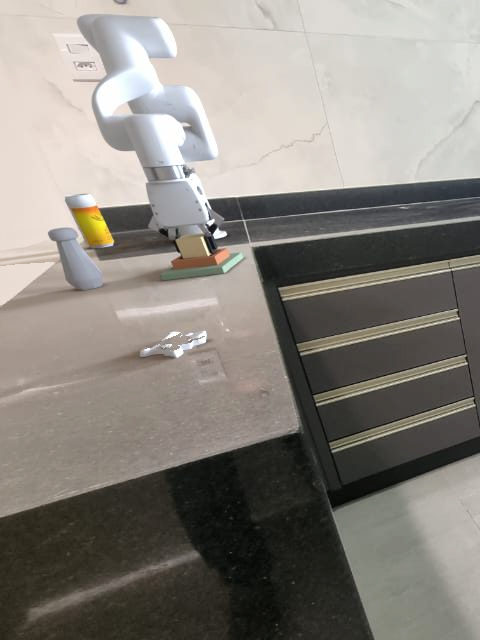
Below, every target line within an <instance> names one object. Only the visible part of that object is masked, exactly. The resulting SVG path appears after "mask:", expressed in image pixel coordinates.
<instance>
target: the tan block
mask: <svg viewBox="0 0 480 640" xmlns="http://www.w3.org/2000/svg"><path fill="white" fill-rule="evenodd" d="M204 237H205V236H204V233H200V234H190V235H184V236H182V237H180V238H178V239H176V240H175V241H176V243H177V245H178V248H179V250H180V252H181V254H180V256H181V255H182V257H183V259H187V258H197V257H206V256H209V255H211V254H210V252H209V250H208V247H207V245H206V242H205V240H204Z"/></svg>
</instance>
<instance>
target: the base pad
mask: <svg viewBox="0 0 480 640" xmlns="http://www.w3.org/2000/svg"><path fill="white" fill-rule="evenodd" d="M243 259H244V256H243V252H241V251H240V252H233V253H230V252H229V250H228V248H227V247H224V248H218V249H217V251H216V252H215V253H213V254H211V255H209V256H206V257H197V258H187V259H183V257H182V256H181V255H179V256H177V257H176V258H174V259H173V260H171V261H170V263H171V265H172V266H171V267H170V268H168V269H166V270H165V271H163V272H161V273H160V274H159V277H160V278H161V281H163V282H164V281H171V280H172V281H173V280H179V279H189V278H197V277H206V276H213V275H220V274H222V275H223V274H225V273H227V272H228V271H229V270H230V269H232V268H233V267H234V266H236V264H238V263H239V262H241V261H242V260H243Z"/></svg>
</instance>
